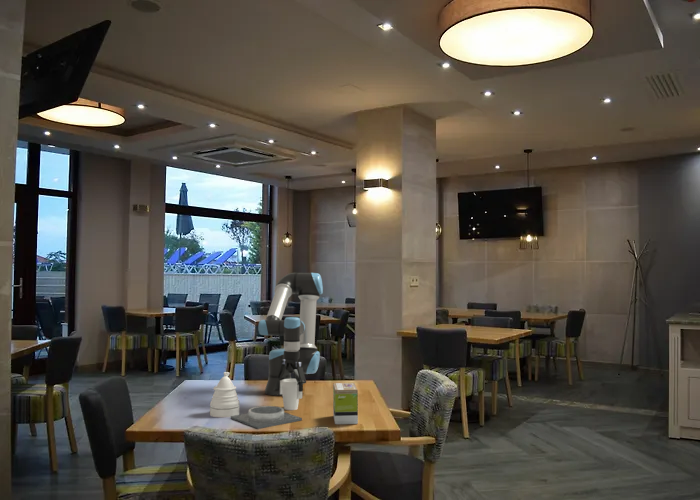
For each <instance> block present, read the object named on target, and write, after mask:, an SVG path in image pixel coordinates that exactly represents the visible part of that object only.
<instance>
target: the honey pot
mask: <svg viewBox="0 0 700 500" xmlns="http://www.w3.org/2000/svg"><path fill="white" fill-rule="evenodd" d="M229 376H230V372H228V371H226V372H225V371H224V372H223V376H222V377H221V378H220V380H219V381H218V382H217V385H215V386H214V387H213V390H214V392H213V394H212V398H211V400H210V403H209V404H210V405H209V406H210V407H209V415H210V417H212V418H213V417H214V418H231V416H234V415H240V400H239V397H238V393H237V386H235V385H234V383H233V381H232V380H231V379H230V377H229Z"/></svg>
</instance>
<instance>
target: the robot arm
mask: <svg viewBox="0 0 700 500" xmlns="http://www.w3.org/2000/svg"><path fill="white" fill-rule="evenodd" d="M323 290H324V286H323V279H322V276H321V274H320V273H317V272H291V273H287V274H286V275H284V276H282V277H281V278H280V279H279V280H278V281H277V283H276V284H275V286H274V295H273V298H272V301H271V303H270V306H269V310H268V311H267V315H266V318H265V319H260V320H259V322H258V328H257V329H258V334H259V335H261V336H271V337H272V336H278V337H280V336H281V337H282V336H283V348H282V347H281V348H277V349H276V348H274V349H273V350H271V351H269V355H268V379H267V383H266V386H265V388H264V389H265V390H264V394H266V395H268V396H283V395H282V386H281V380H283V379H292V376H291V375H292V374H293V375H294V377H295V378H294V379H296V380H297V382H298V383H297V399H299V400H300V399H303V391H304V384H307V380H306V375H308V374H309V375H310V374H316V373H317V371H318V368H319V366H320V358H321V353H320V351H318V347H317V346H316V345H315V343H316V342H315V341H316V340H315V339H316V338H315V337H316V319H317V316H316V315H317V301H318V300H319V299H320V295H323V293H324V291H323ZM292 295H298V296H297V297H298V298H299V300H300V308H299V309H300V310H299V317H295V316H294V317H293V316H289V317H284V320H283V319H282V318H283V316H284V313H285V309H286V306H287V304H288V301H289V298H290V297H291V296H292Z"/></svg>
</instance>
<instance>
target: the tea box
mask: <svg viewBox="0 0 700 500" xmlns="http://www.w3.org/2000/svg"><path fill="white" fill-rule="evenodd" d="M358 391H359V390H358V388H357V386H356V384H355V382H340V383H339V382H335V383H333V384H332V392H333V393H332V395H333V397H332V398H333V400H332V401H333V409H332V410H333V411H332V412H333V413H332V415H333V420H334V425H358V423H359V412H358V411H359V392H358Z"/></svg>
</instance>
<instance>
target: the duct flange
mask: <svg viewBox="0 0 700 500" xmlns="http://www.w3.org/2000/svg"><path fill="white" fill-rule="evenodd" d="M230 419H231V420H233V421H237V422H239V423H242V424H244V425H247V426H249V427H252V428H255V429H258V430H259V429H264V428H271V427H274V426H280V425H281V426H282V425H284V424H285V425H286V424H291V423H297V422H301V421H303V417H300V416H297V415H294V414H290V413H288V412H285V409H284V407H280V406H273V405H263V406H262V405H261V406H254V407H251V408H249V409H248V412H247V413H239V414H238V415H234V416H231V417H230Z"/></svg>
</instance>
